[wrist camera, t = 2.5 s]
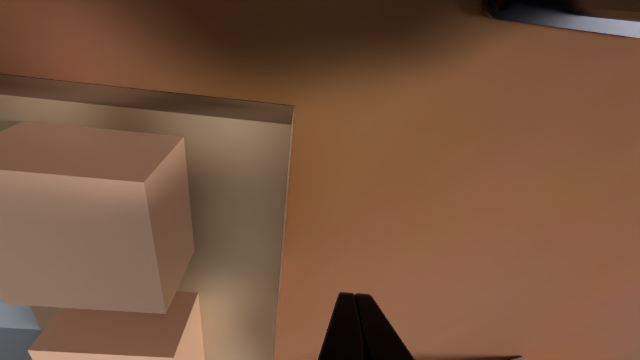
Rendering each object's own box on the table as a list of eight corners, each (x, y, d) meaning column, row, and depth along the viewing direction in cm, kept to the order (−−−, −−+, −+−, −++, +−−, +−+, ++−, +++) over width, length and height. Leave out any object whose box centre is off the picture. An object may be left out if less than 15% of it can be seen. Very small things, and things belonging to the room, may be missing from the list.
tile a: (184, 136, 11) (143, 182, 8) (194, 251, 13) (166, 314, 11) (24, 120, 11) (-70, 163, 8) (64, 241, 13) (3, 304, 11)
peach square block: (198, 292, 15) (173, 357, 12) (204, 360, 17) (184, 426, 15) (79, 284, 14) (27, 350, 12) (103, 354, 17) (64, 422, 14)
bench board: (294, 105, 13) (291, 124, 11) (275, 338, 20) (272, 372, 18) (-16, 72, 12) (-73, 87, 10) (79, 327, 19) (55, 361, 17)
